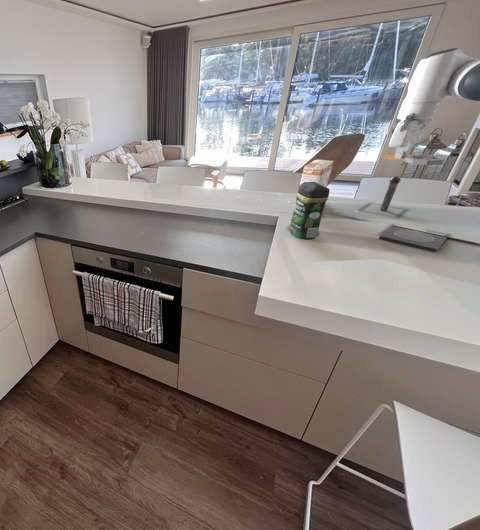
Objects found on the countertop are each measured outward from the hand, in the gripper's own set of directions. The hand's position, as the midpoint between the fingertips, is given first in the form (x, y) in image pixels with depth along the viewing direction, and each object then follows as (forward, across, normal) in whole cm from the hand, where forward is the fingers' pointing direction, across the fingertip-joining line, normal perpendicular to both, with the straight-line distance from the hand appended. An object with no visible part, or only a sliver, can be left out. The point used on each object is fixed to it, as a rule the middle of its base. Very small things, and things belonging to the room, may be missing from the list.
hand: (399, 157), depth 98 cm
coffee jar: (+23, -30, +12) cm, 40 cm away
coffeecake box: (+23, -4, +23) cm, 33 cm away
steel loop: (+1, 0, -4) cm, 4 cm away
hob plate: (+23, -10, -13) cm, 28 cm away
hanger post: (+23, +10, +1) cm, 25 cm away
